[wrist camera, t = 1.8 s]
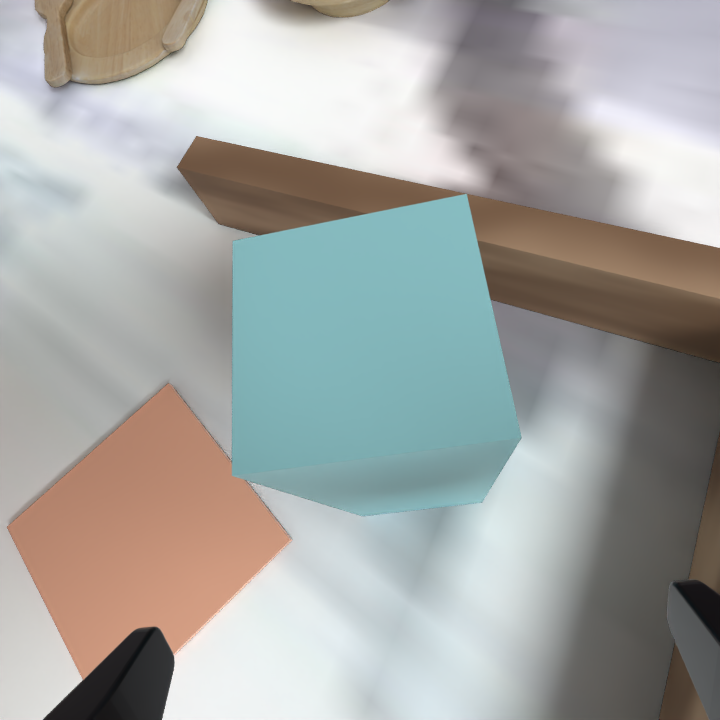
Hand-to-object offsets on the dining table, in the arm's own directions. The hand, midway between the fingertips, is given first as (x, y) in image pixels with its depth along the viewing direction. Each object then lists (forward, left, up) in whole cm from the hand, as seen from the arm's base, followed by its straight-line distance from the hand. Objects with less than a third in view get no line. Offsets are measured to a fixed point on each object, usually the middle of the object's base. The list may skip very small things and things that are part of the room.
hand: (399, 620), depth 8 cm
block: (+4, +3, -12) cm, 13 cm away
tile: (-4, +13, -12) cm, 17 cm away
